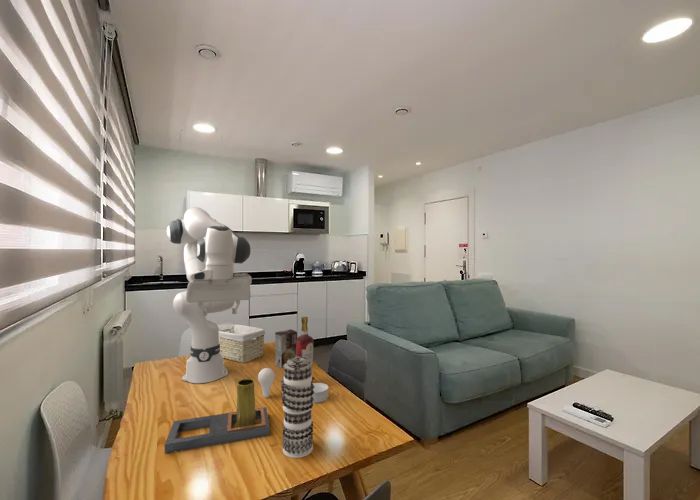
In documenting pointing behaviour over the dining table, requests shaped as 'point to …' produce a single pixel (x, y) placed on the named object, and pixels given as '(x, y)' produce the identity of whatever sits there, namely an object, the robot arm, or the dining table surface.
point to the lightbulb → (266, 380)
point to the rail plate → (215, 431)
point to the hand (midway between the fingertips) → (219, 314)
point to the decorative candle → (297, 407)
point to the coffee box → (285, 346)
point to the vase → (245, 403)
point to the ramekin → (320, 392)
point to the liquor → (305, 343)
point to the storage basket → (241, 342)
